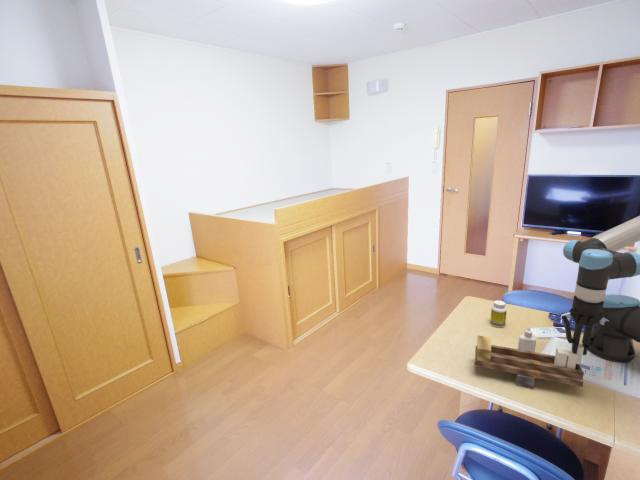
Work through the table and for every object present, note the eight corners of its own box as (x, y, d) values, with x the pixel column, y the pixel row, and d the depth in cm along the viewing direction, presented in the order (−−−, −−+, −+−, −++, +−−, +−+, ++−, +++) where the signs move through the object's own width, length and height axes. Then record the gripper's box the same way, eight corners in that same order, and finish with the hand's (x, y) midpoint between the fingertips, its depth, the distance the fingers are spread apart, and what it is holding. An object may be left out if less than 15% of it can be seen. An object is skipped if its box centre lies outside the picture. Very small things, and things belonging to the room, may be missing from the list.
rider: (571, 366, 115) (574, 349, 113) (574, 374, 112) (577, 356, 110) (553, 363, 117) (556, 346, 115) (556, 371, 114) (559, 353, 112)
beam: (572, 376, 120) (577, 349, 117) (581, 399, 109) (587, 370, 106) (474, 357, 133) (476, 333, 130) (474, 376, 122) (476, 350, 119)
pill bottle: (506, 328, 151) (508, 306, 148) (491, 326, 153) (493, 305, 150) (503, 321, 157) (505, 300, 154) (488, 320, 159) (490, 299, 156)
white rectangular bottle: (531, 360, 129) (534, 332, 126) (515, 353, 134) (518, 327, 130) (535, 355, 132) (539, 328, 129) (520, 349, 136) (523, 323, 133)
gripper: (610, 295, 106) (597, 359, 113) (561, 290, 112) (551, 351, 118) (619, 306, 100) (605, 373, 106) (566, 300, 105) (556, 364, 111)
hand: (577, 361), depth 112 cm, fingers closed
